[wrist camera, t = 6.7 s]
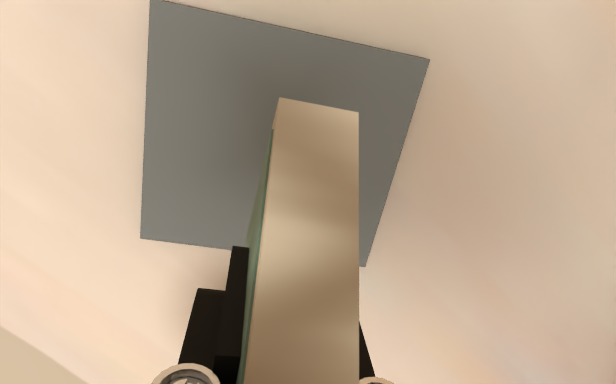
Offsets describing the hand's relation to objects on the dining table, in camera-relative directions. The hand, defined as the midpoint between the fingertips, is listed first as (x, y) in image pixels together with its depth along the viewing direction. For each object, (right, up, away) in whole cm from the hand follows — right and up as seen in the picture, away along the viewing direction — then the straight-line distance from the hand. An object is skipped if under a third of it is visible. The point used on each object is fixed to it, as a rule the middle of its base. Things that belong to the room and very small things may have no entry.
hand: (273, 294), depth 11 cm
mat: (-1, +6, +12) cm, 14 cm away
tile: (0, +3, +1) cm, 3 cm away
